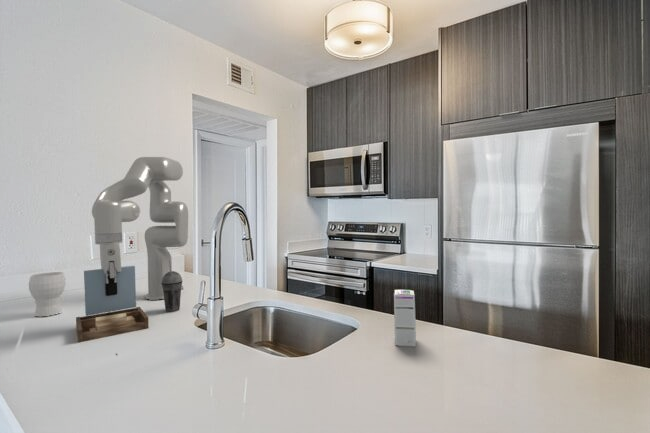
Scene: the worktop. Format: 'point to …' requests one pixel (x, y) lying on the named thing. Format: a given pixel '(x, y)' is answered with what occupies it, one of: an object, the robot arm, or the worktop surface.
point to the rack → (89, 322)
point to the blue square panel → (97, 295)
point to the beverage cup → (172, 290)
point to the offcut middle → (116, 324)
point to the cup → (47, 292)
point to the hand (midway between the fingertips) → (111, 293)
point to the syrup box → (404, 318)
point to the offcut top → (111, 319)
